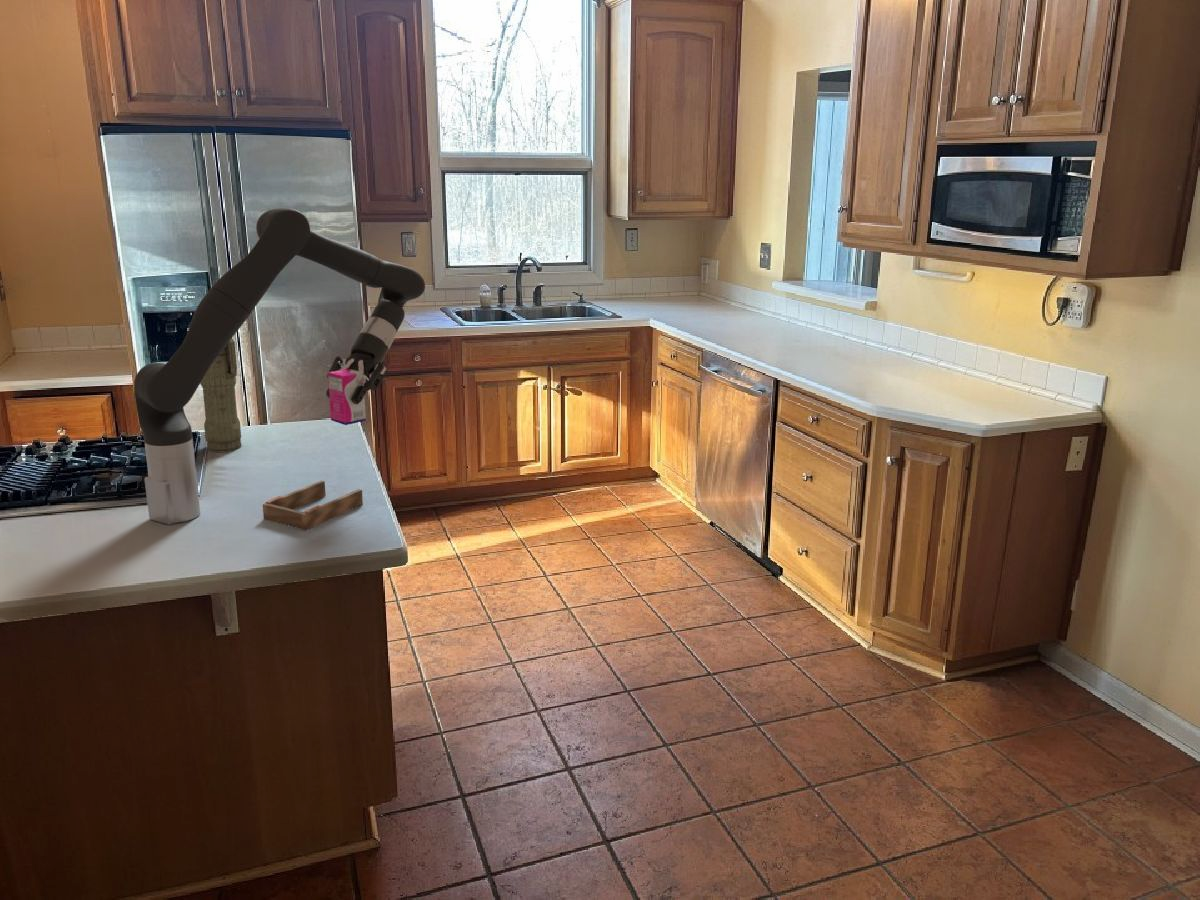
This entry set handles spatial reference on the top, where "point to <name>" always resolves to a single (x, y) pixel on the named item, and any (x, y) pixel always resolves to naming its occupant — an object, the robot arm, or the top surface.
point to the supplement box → (345, 397)
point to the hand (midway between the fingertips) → (342, 399)
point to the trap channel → (284, 505)
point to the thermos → (221, 402)
